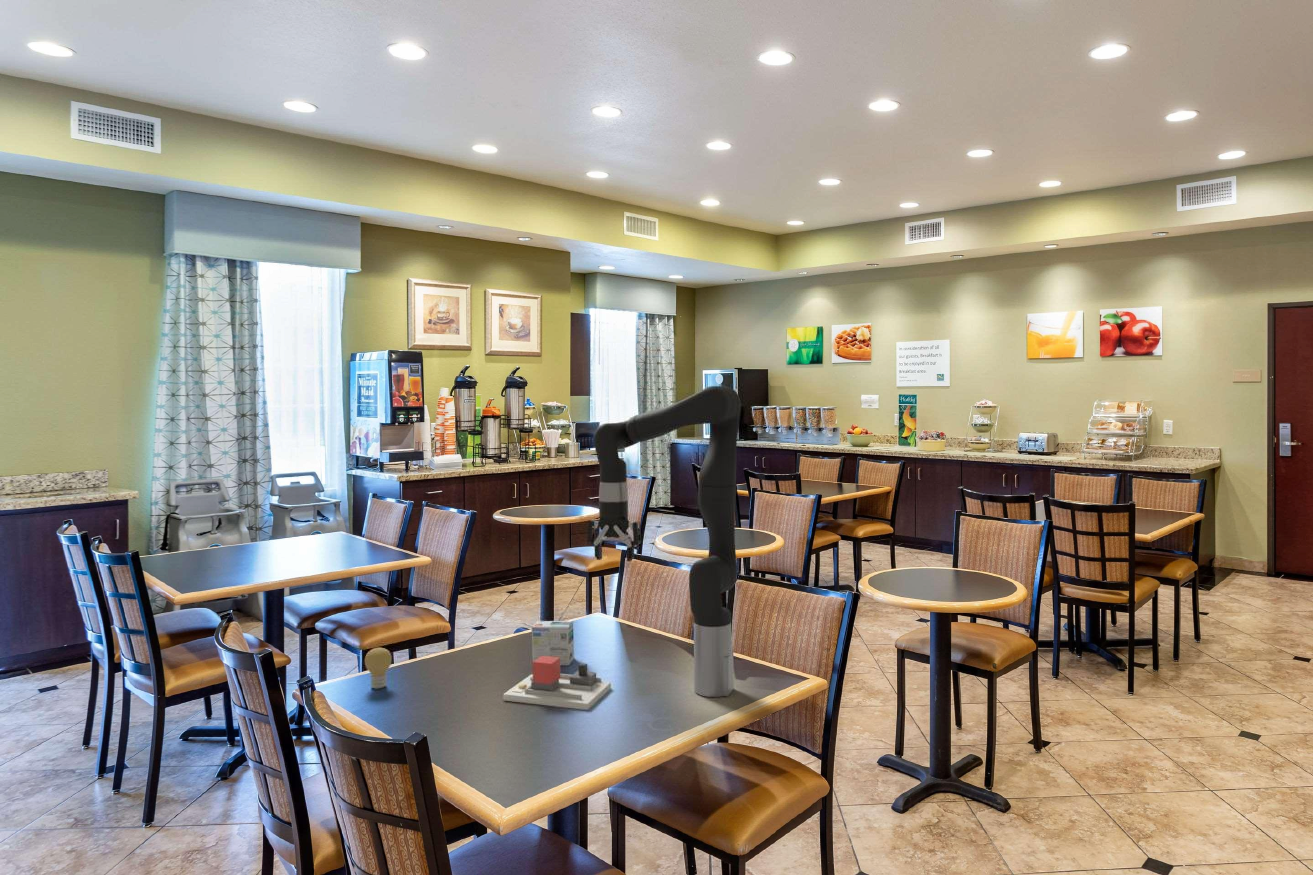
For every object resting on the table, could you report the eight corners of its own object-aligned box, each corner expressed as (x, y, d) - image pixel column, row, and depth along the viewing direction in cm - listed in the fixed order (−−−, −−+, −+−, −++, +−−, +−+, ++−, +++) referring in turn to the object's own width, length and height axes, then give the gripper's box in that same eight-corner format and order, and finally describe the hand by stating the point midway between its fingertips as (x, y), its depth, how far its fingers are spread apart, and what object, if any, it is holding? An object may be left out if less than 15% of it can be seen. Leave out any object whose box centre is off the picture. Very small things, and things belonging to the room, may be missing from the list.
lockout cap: (560, 677, 198) (560, 657, 198) (551, 684, 193) (551, 663, 193) (542, 675, 200) (541, 655, 199) (532, 682, 195) (532, 661, 195)
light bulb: (360, 689, 203) (358, 649, 203) (379, 681, 209) (378, 643, 208) (378, 693, 200) (377, 653, 200) (397, 684, 206) (396, 646, 205)
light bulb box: (574, 658, 226) (574, 620, 226) (569, 665, 220) (569, 626, 219) (537, 657, 227) (536, 619, 227) (531, 665, 221) (530, 626, 220)
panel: (610, 688, 202) (610, 662, 202) (587, 709, 188) (587, 681, 187) (531, 679, 209) (531, 654, 208) (503, 700, 194) (502, 673, 194)
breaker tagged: (559, 687, 198) (558, 666, 198) (550, 694, 193) (549, 673, 193) (540, 685, 200) (540, 665, 200) (531, 692, 195) (531, 671, 195)
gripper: (643, 498, 213) (644, 558, 214) (593, 496, 217) (594, 556, 218) (634, 501, 206) (635, 564, 207) (582, 499, 210) (583, 561, 211)
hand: (614, 560), depth 212 cm, fingers open, 8 cm apart
